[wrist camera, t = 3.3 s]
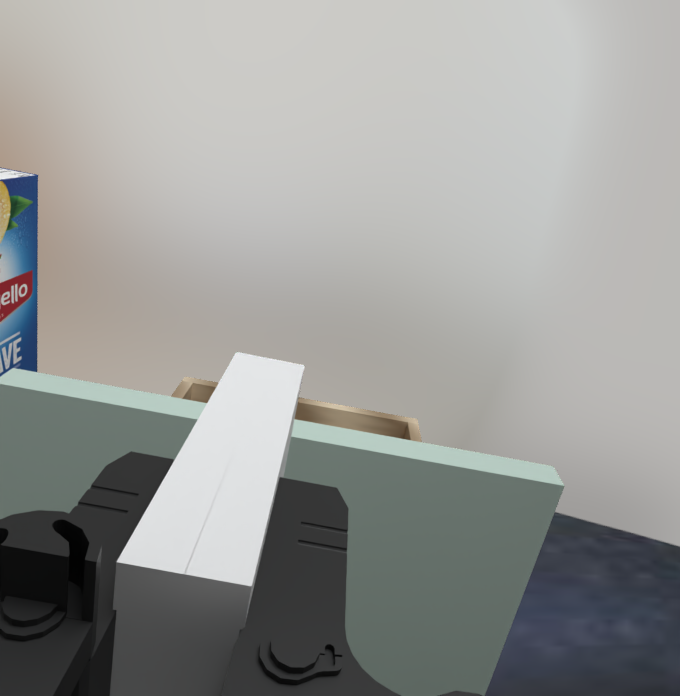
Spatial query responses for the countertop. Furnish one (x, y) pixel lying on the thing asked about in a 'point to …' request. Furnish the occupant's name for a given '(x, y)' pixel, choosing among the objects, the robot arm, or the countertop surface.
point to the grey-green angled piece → (363, 518)
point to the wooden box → (321, 413)
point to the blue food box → (18, 270)
